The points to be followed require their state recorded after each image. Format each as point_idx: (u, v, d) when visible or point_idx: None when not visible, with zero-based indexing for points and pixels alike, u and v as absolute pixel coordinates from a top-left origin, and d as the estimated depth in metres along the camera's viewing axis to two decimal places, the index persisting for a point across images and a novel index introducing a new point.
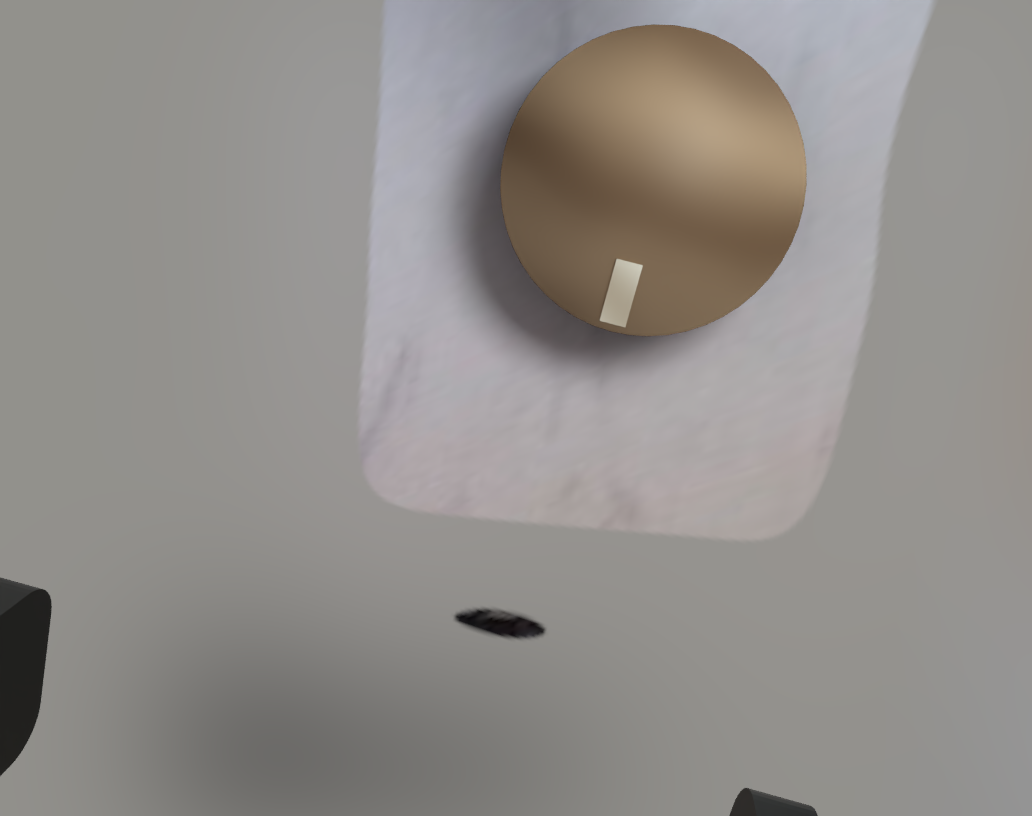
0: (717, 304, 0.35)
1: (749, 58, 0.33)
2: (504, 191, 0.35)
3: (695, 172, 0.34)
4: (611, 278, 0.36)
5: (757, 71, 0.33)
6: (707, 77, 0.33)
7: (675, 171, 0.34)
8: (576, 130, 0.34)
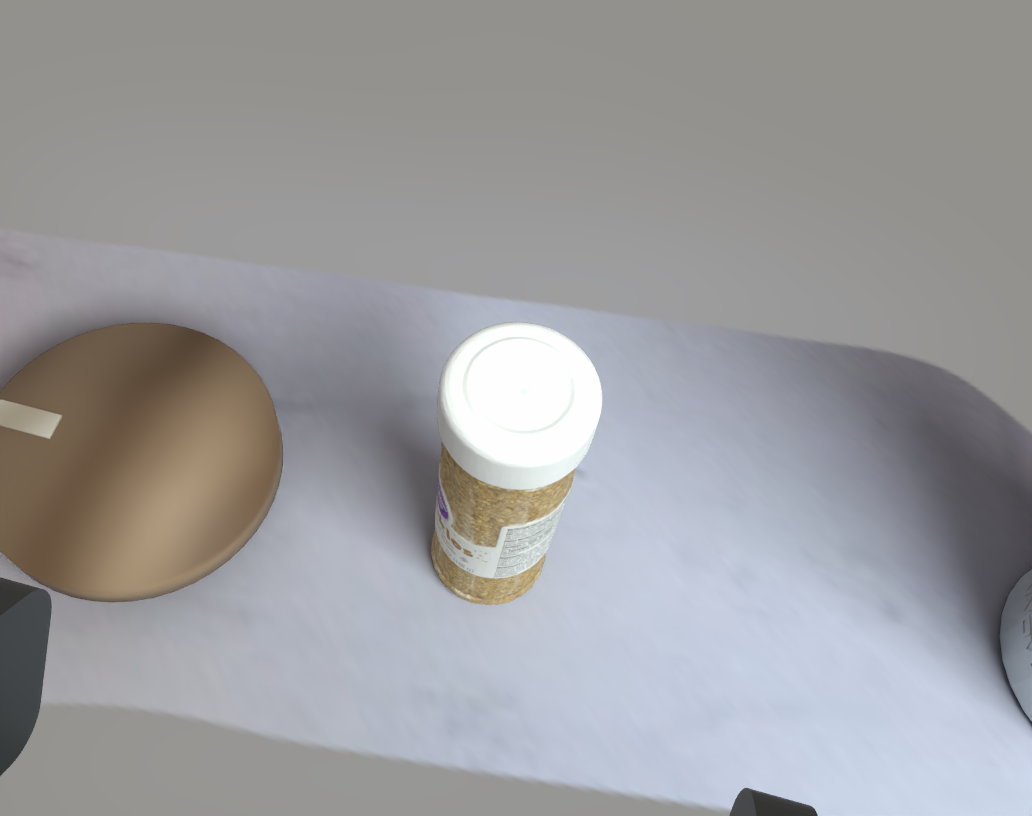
0: None
1: (235, 531, 0.34)
2: (147, 325, 0.38)
3: (133, 485, 0.35)
4: (43, 412, 0.36)
5: (222, 539, 0.34)
6: (223, 494, 0.35)
7: (138, 468, 0.35)
8: (192, 385, 0.37)
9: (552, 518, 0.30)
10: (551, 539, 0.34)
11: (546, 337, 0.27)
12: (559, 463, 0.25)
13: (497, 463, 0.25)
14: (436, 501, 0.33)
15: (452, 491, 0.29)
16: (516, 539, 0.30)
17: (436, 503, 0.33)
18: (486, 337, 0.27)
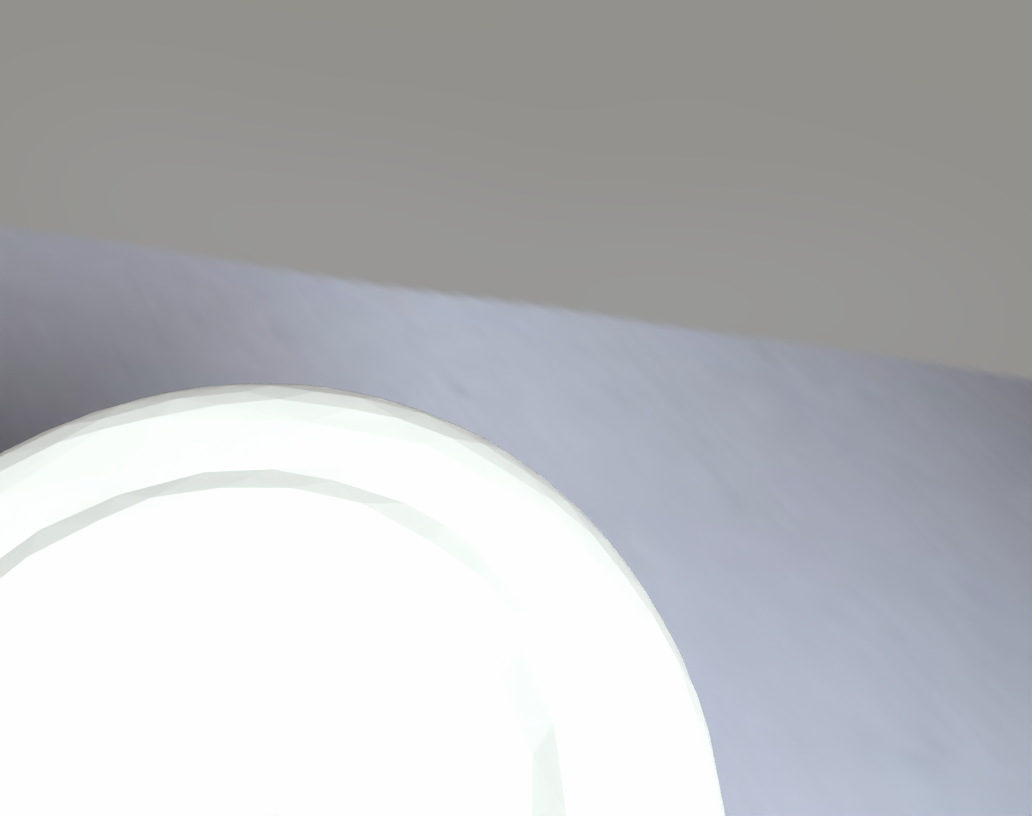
0: None
1: None
2: None
3: None
4: None
5: None
6: None
7: None
8: None
9: None
10: None
11: (413, 473, 0.05)
12: None
13: None
14: None
15: None
16: None
17: None
18: (62, 476, 0.05)
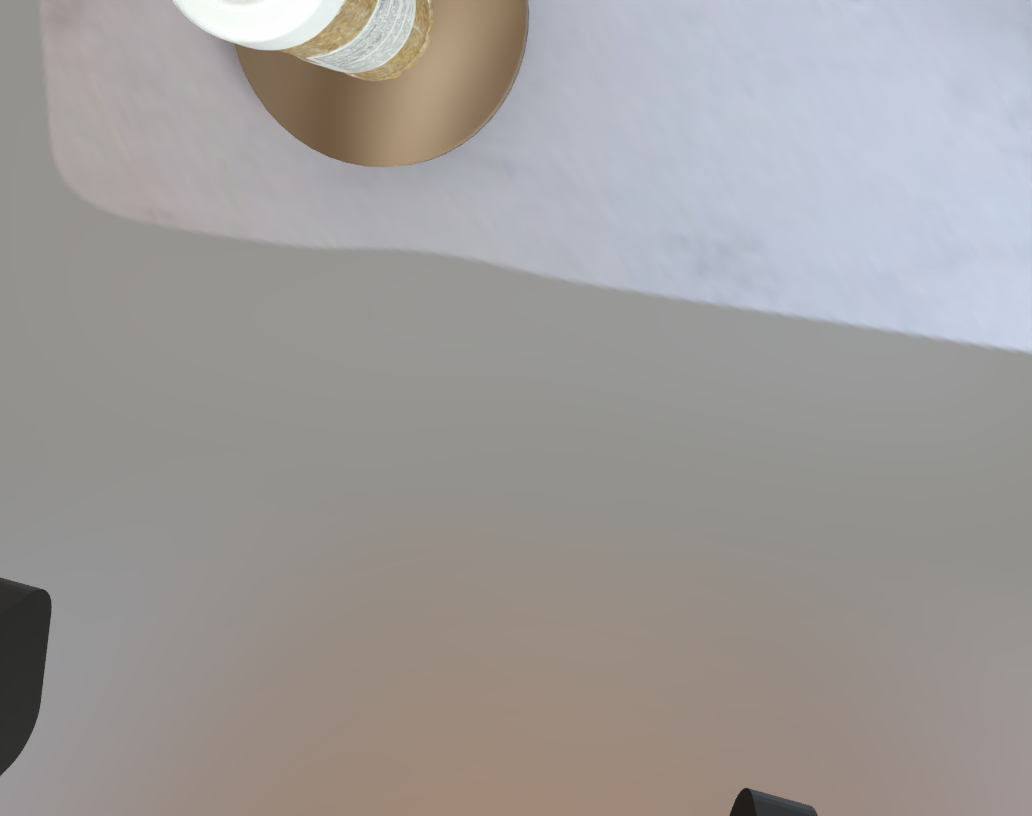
0: (267, 87, 0.36)
1: (494, 103, 0.35)
2: None
3: None
4: None
5: (482, 112, 0.35)
6: (477, 63, 0.35)
7: None
8: None
9: (368, 35, 0.28)
10: (407, 28, 0.31)
11: None
12: (294, 32, 0.23)
13: (225, 39, 0.23)
14: None
15: None
16: (335, 59, 0.28)
17: None
18: None
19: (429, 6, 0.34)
